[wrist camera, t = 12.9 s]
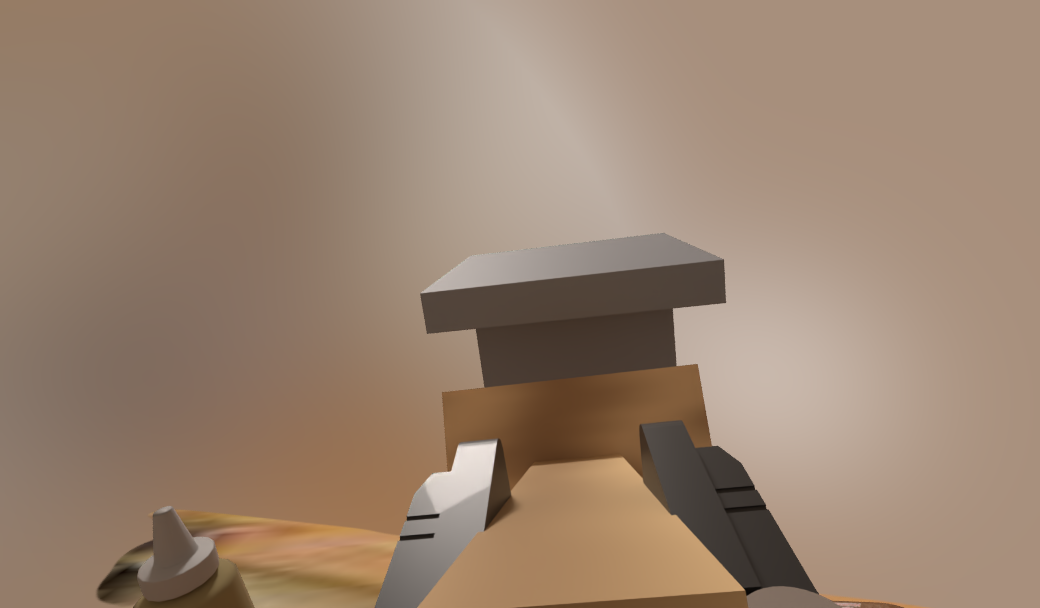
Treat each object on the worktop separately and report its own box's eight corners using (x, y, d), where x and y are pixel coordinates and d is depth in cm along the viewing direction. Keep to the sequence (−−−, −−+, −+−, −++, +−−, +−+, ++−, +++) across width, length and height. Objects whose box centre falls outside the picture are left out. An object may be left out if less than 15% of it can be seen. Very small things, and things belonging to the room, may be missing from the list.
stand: (689, 615, 43) (663, 233, 37) (748, 810, 30) (724, 259, 23) (524, 622, 45) (470, 255, 38) (508, 811, 31) (420, 293, 25)
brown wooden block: (691, 506, 20) (669, 374, 21) (1283, 1021, 3) (1031, 240, 4) (483, 524, 20) (472, 395, 21) (77, 1028, 4) (116, 355, 5)
